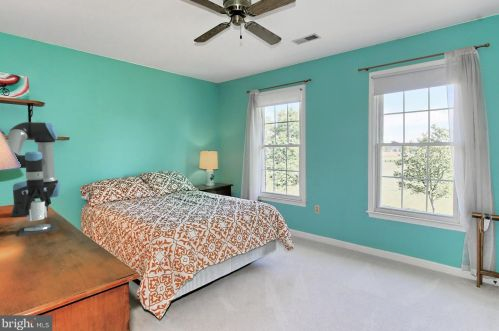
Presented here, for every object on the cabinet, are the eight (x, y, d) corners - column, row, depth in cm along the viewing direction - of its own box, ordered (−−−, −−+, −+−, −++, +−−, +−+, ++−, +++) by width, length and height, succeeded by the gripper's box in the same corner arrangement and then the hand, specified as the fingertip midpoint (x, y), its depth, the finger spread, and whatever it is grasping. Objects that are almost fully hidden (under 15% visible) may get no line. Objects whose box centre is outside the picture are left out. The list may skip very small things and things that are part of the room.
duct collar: (20, 229, 155) (20, 226, 154) (54, 224, 164) (54, 221, 164) (18, 236, 144) (18, 232, 143) (55, 230, 153) (55, 227, 153)
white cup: (24, 221, 149) (23, 203, 148) (34, 217, 157) (33, 200, 156) (39, 220, 150) (39, 203, 149) (48, 217, 158) (48, 200, 157)
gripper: (19, 181, 141) (21, 224, 143) (57, 177, 160) (59, 215, 162) (9, 181, 143) (12, 223, 145) (48, 177, 163) (50, 214, 164)
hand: (37, 218), depth 153 cm, fingers closed on white cup, 7 cm apart
